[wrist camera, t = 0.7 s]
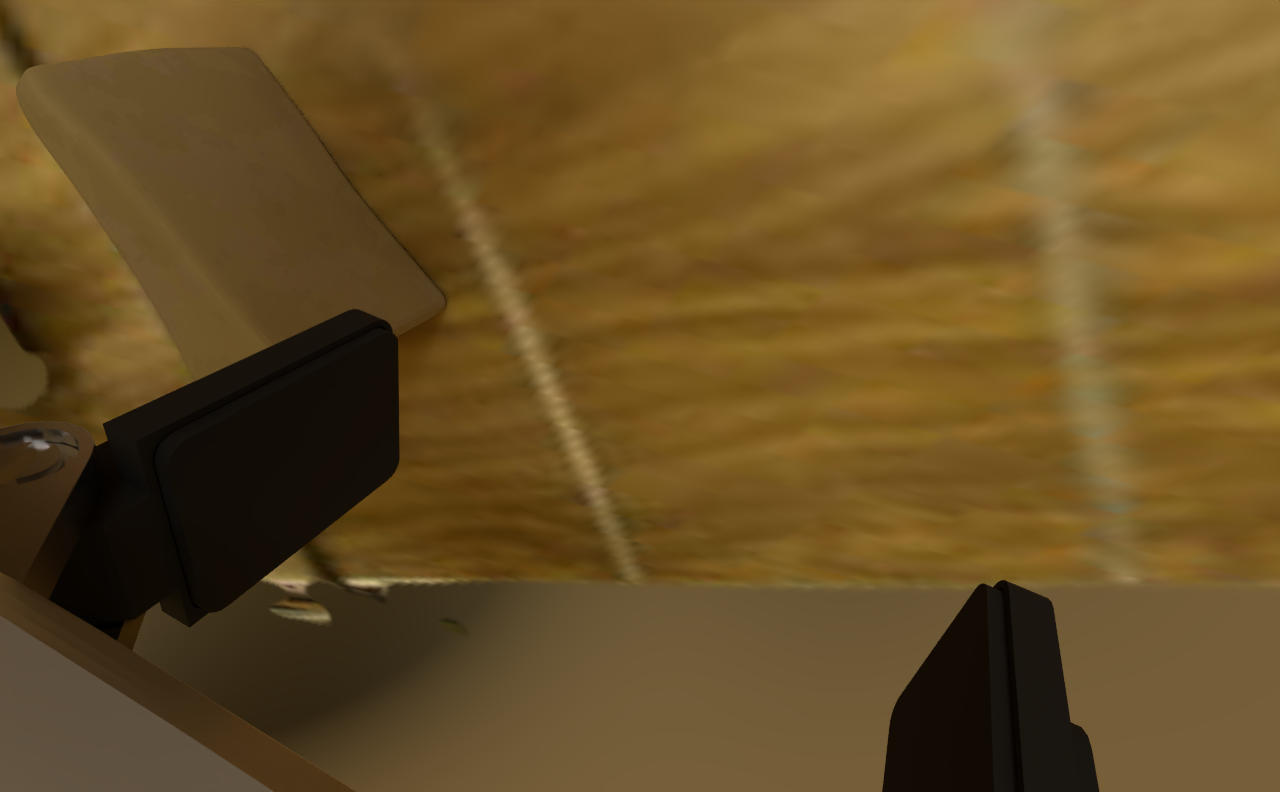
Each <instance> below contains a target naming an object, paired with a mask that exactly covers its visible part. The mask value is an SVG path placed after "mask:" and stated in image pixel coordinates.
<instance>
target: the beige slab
mask: <svg viewBox="0 0 1280 792" xmlns="http://www.w3.org/2000/svg"><path fill="white" fill-rule="evenodd" d="M16 91H17V98H18V101H19V104H20V106H21V108H22V110H23V113H24V115H25V116H26V118H27V120H28V122H29V123H30V125H31V127H32V128H33V130H34V131H35V133H36V134H37V136H38V137H39V139H40V140H41V142H42V143H43V144H44V146H45V147H46V148H47V150H48V151H49V153H50V154H51V155H52V157H53V158H54V159H55V161H56V162H57V163H58V165H59V166H60V167H61V169H62V170H63V171H64V173H65V174H66V175H67V177H68V178H69V180H70V181H71V182H72V184H73V185H74V187H75V188H76V189H77V191H78V192H79V194H80V195H81V196H82V198H83V199H84V201H85V202H86V204H87V205H88V207H89V208H90V210H91V211H92V213H93V214H94V216H95V217H96V219H97V220H98V221H99V223H100V224H101V226H102V227H103V229H104V230H105V232H106V233H107V235H108V236H109V238H110V239H111V241H112V242H113V244H114V245H115V247H116V248H117V250H118V251H119V253H120V254H121V256H122V257H123V258H124V260H125V261H126V263H127V264H128V266H129V267H130V269H131V270H132V272H133V273H134V275H135V276H136V278H137V279H138V281H139V282H140V284H141V285H142V287H143V289H144V290H145V292H146V293H147V295H148V296H149V298H150V300H151V301H152V303H153V305H154V306H155V308H156V310H157V311H158V313H159V315H160V316H161V318H162V320H163V322H164V323H165V325H166V327H167V329H168V331H169V332H170V334H171V336H172V338H173V340H174V342H175V344H176V345H177V347H178V349H179V351H180V353H181V355H182V357H183V359H184V360H185V362H186V364H187V366H188V368H189V370H190V372H191V373H192V375H193V377H194V379H195V381H197V380H199V379H201V378H203V377H205V376H207V375H210V374H212V373H214V372H216V371H218V370H220V369H223V368H225V367H227V366H229V365H231V364H233V363H236V362H238V361H240V360H242V359H244V358H246V357H248V356H251V355H253V354H255V353H257V352H259V351H261V350H264V349H266V348H268V347H270V346H272V345H274V344H277V343H279V342H281V341H283V340H285V339H287V338H290V337H292V336H294V335H296V334H298V333H300V332H303V331H305V330H307V329H309V328H311V327H313V326H316V325H318V324H320V323H322V322H324V321H326V320H329V319H331V318H333V317H335V316H337V315H339V314H341V313H344V312H346V311H348V310H352V309H359V310H362V311H364V312H367V313H369V314H371V315H374V316H376V317H378V318H381V319H383V320H386V321H387V322H388V323H390V325H391V327H392V330H393V334H395V335H396V337H397V336H399V335H401V334H403V333H405V332H407V331H408V330H410V329H412V328H414V327H416V326H418V325H420V324H421V323H423V322H425V321H427V320H429V319H430V318H432V317H434V316H435V315H437V314H438V313H439V312H440V311H442V310H443V308H444V307H445V304H446V301H445V298H444V296H443V295H442V293H441V292H440V291H439V290H438V288H437V287H436V286H435V285H434V284H433V282H432V281H431V280H430V279H429V278H428V277H427V275H426V274H425V273H424V272H423V271H422V270H421V269H420V267H419V266H418V265H417V264H416V263H415V262H414V260H413V259H412V258H411V257H410V256H409V255H408V253H407V252H406V251H405V250H404V249H403V248H402V246H401V245H400V244H399V243H398V242H397V241H396V240H395V238H394V237H393V236H392V235H391V234H390V232H389V231H388V230H387V229H386V228H385V227H384V225H383V224H382V223H381V222H380V221H379V219H378V218H377V217H376V216H375V215H374V213H373V212H372V211H371V210H370V208H369V207H368V206H367V205H366V204H365V202H364V201H363V200H362V199H361V197H360V196H359V195H358V193H357V192H356V191H355V190H354V188H353V187H352V186H351V184H350V183H349V182H348V180H347V179H346V178H345V176H344V175H343V173H342V172H341V171H340V169H339V168H338V166H337V165H336V164H335V162H334V161H333V159H332V158H331V156H330V155H329V153H328V152H327V150H326V149H325V147H324V146H323V144H322V143H321V141H320V140H319V138H318V137H317V135H316V134H315V132H314V131H313V129H312V128H311V127H310V125H309V124H308V122H307V121H306V120H305V118H304V117H303V115H302V114H301V113H300V111H299V110H298V109H297V107H296V106H295V105H294V103H293V102H292V101H291V99H290V98H289V97H288V95H287V94H286V93H285V91H284V90H283V89H282V87H281V86H280V85H279V84H278V82H277V81H276V80H275V78H274V77H273V76H272V74H271V73H270V72H269V70H268V69H267V68H266V67H265V65H264V64H263V63H262V62H261V60H260V59H259V58H258V57H257V56H256V55H255V54H254V53H253V52H252V51H250V50H249V49H246V48H241V47H226V48H164V49H149V50H139V51H131V52H123V53H116V54H110V55H104V56H97V57H91V58H85V59H79V60H72V61H66V62H59V63H52V64H45V65H38V66H34V67H31V68H29V69H27V70H26V71H25V72H24V74H23V75H22V77H21V79H20V81H19V83H18V85H17V88H16Z"/></svg>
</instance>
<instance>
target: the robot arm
mask: <svg viewBox="0 0 1280 792" xmlns="http://www.w3.org/2000/svg"><path fill="white" fill-rule="evenodd" d="M103 426H104V429H105V432H106V436H107V439H108V441H106V442H104V443H102V444H100V445H98V446H95V443H94V440H93V438H92V436H91V434H90V433H89V432H87V431H86V430H84V429H83V428H81V427H80V426H76V425H72V424H69V423H65V422H50V421H43V422H31V423H22V424H18V425H14V426H9V427H5V428H1V429H0V792H356V791H354V790H353V789H351V788H349V787H348V786H346V785H345V784H343V783H342V782H340V781H338V780H337V779H335V778H334V777H332V776H330V775H329V774H327V773H326V772H324V771H323V770H321V769H319V768H318V767H316V766H315V765H313V764H311V763H310V762H308V761H307V760H305V759H304V758H302V757H301V756H299V755H297V754H296V753H294V752H293V751H291V750H289V749H288V748H286V747H285V746H283V745H282V744H280V743H278V742H277V741H275V740H274V739H272V738H270V737H269V736H267V735H266V734H264V733H262V732H261V731H259V730H258V729H256V728H255V727H253V726H252V725H250V724H248V723H247V722H245V721H244V720H242V719H240V718H239V717H237V716H236V715H234V714H232V713H231V712H229V711H228V710H226V709H225V708H223V707H221V706H219V705H218V704H216V703H215V702H213V701H212V700H210V699H208V698H207V697H205V696H204V695H202V694H201V693H199V692H197V691H196V690H194V689H193V688H191V687H189V686H188V685H186V684H185V683H183V682H181V681H180V680H178V679H176V678H175V677H173V676H172V675H170V674H169V673H167V672H165V671H164V670H162V669H161V668H159V667H158V666H156V665H154V664H153V663H151V662H149V661H148V660H146V659H145V658H143V657H142V656H140V655H138V654H137V653H135V652H134V651H133V648H134V645H135V642H136V639H137V636H138V633H139V630H140V628H141V625H142V622H143V619H144V616H145V613H146V611H147V610H148V609H150V608H151V607H152V606H154V605H155V604H157V603H158V602H160V605H161V608H162V611H163V612H165V613H167V614H168V615H170V616H172V617H173V618H175V619H176V620H178V621H180V622H181V623H183V624H185V625H186V626H188V627H191V626H192V625H194V624H195V623H196V622H197V621H199V620H200V619H201V618H202V617H204V616H205V615H206V614H208V613H209V612H210V613H211V612H218V611H220V610H222V609H224V608H225V607H227V606H228V605H229V604H231V603H232V602H233V601H235V600H236V599H237V598H238V597H239V596H241V595H242V594H243V593H245V592H246V591H247V590H249V589H250V588H251V587H252V586H254V585H255V584H256V583H257V582H259V581H260V580H261V579H263V578H264V577H265V576H266V575H268V574H269V573H270V572H271V571H273V570H274V569H275V568H277V567H278V566H279V565H280V564H282V563H283V562H284V561H285V560H287V559H288V558H289V557H290V556H292V555H293V554H294V553H296V552H297V551H298V550H299V549H301V548H302V547H303V546H304V545H306V544H307V543H308V542H310V541H311V540H312V539H313V538H315V537H316V536H317V535H318V534H320V533H321V532H322V531H324V530H325V529H326V528H327V527H329V526H330V525H331V524H332V523H334V522H335V521H336V520H337V519H339V518H340V517H341V516H343V515H344V514H345V513H346V512H348V511H349V510H350V509H351V508H353V507H354V506H355V505H357V504H358V503H359V502H360V501H362V500H363V499H364V498H365V497H367V496H368V495H369V494H371V493H372V492H373V491H374V490H376V489H377V488H378V487H379V486H381V485H382V484H383V483H385V482H386V481H387V480H388V479H389V478H390V477H391V476H392V475H393V474H394V472H395V471H396V469H397V466H398V463H399V382H398V340H397V337H396V335H395V334H393V330H392V327H391V325H390V323H388V322H387V321H386V320H383V319H381V318H378V317H376V316H374V315H371V314H369V313H367V312H364V311H362V310H359V309H352V310H348V311H346V312H344V313H341V314H339V315H337V316H335V317H333V318H331V319H329V320H326V321H324V322H322V323H320V324H318V325H316V326H313V327H311V328H309V329H307V330H305V331H303V332H300V333H298V334H296V335H294V336H292V337H290V338H287V339H285V340H283V341H281V342H279V343H277V344H274V345H272V346H270V347H268V348H266V349H264V350H261V351H259V352H257V353H255V354H253V355H251V356H248V357H246V358H244V359H242V360H240V361H238V362H236V363H233V364H231V365H229V366H227V367H225V368H223V369H220V370H218V371H216V372H214V373H212V374H210V375H207V376H205V377H203V378H201V379H199V380H197V381H194V382H192V383H190V384H188V385H186V386H184V387H181V388H179V389H177V390H175V391H173V392H171V393H168V394H166V395H164V396H162V397H160V398H158V399H155V400H153V401H151V402H149V403H147V404H145V405H143V406H140V407H138V408H136V409H134V410H132V411H130V412H127V413H125V414H123V415H121V416H119V417H117V418H114V419H112V420H110V421H108V422H106V423H104V424H103ZM882 792H1099V787H1098V782H1097V777H1096V770H1095V764H1094V759H1093V753H1092V748H1091V745H1090V742H1089V738H1088V735H1087V734H1086V733H1085V731H1084V730H1083V729H1082V727H1080V726H1078V725H1075V724H1073V723H1071V722H1070V716H1069V709H1068V702H1067V695H1066V689H1065V682H1064V675H1063V669H1062V662H1061V655H1060V648H1059V642H1058V635H1057V629H1056V622H1055V615H1054V608H1053V605H1052V602H1051V601H1050V600H1049V599H1048V598H1046V597H1043V596H1041V595H1039V594H1036V593H1034V592H1032V591H1029V590H1027V589H1024V588H1022V587H1020V586H1017V585H1015V584H1012V583H1010V582H1008V581H1005V580H1001V581H999V582H998V583H996V585H995V586H994V587H991V586H989V585H986V584H980V585H979V586H978V587H977V588H976V589H975V590H974V592H973V593H972V595H971V596H970V597H969V599H968V600H967V602H966V603H965V605H964V606H963V608H962V609H961V610H960V612H959V613H958V614H957V616H956V617H955V619H954V620H953V622H952V623H951V624H950V626H949V627H948V629H947V630H946V632H945V633H944V634H943V636H942V637H941V639H940V640H939V641H938V643H937V644H936V646H935V647H934V648H933V650H932V651H931V653H930V654H929V656H928V657H927V658H926V660H925V661H924V663H923V664H922V665H921V667H920V668H919V670H918V671H917V673H916V674H915V676H914V677H913V678H912V680H911V681H910V683H909V684H908V685H907V687H906V688H905V690H904V691H903V692H902V694H901V695H900V697H899V698H898V700H897V702H896V705H895V707H894V709H893V712H892V716H891V720H890V726H889V736H888V745H887V754H886V763H885V772H884V782H883V790H882Z"/></svg>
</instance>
